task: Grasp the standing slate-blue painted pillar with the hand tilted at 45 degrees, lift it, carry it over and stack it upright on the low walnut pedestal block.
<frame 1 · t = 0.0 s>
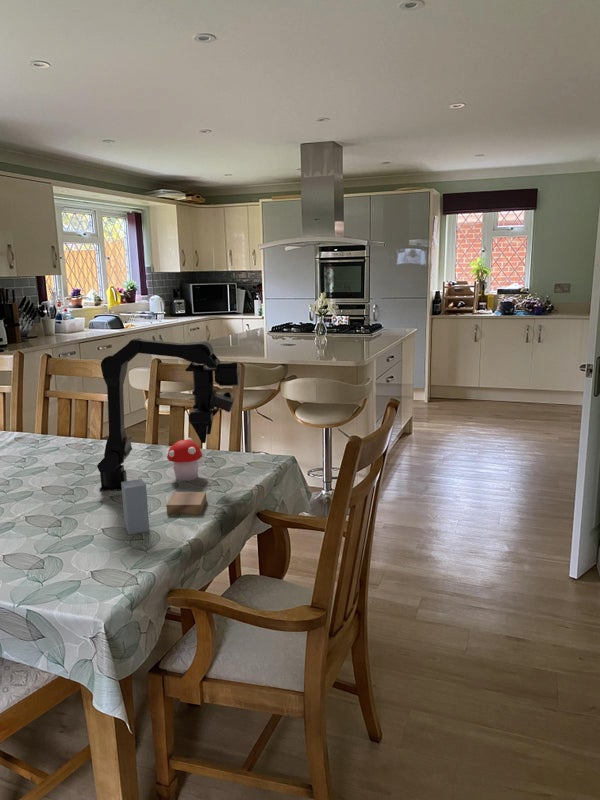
hand: (206, 438, 174), 15 cm above the table, tool pointing down, fingers open, 9 cm apart
pedestal: (187, 508, 162), on the table
mushroom: (185, 477, 185), on the table
pillar: (137, 528, 149), on the table
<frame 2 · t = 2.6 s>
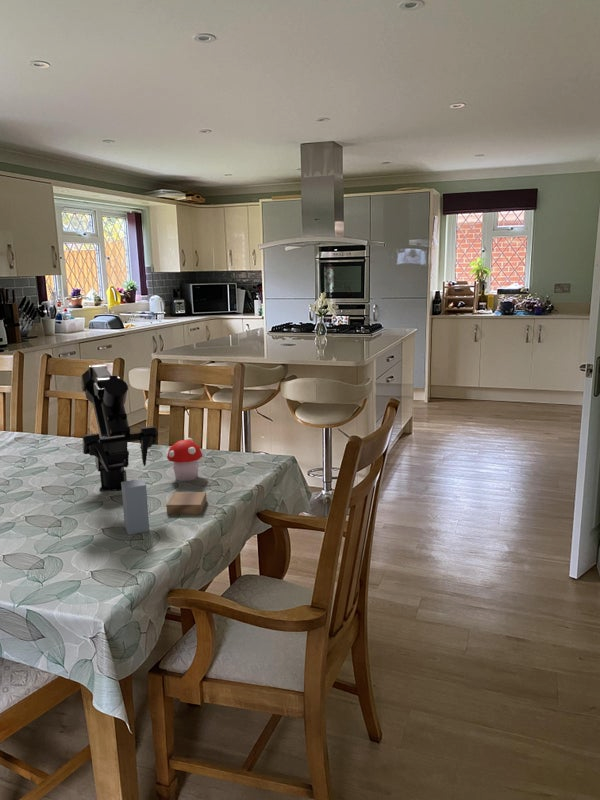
hand: (126, 468, 153), 13 cm above the table, tool tilted 45°, fingers open, 9 cm apart
nothing on the table moved.
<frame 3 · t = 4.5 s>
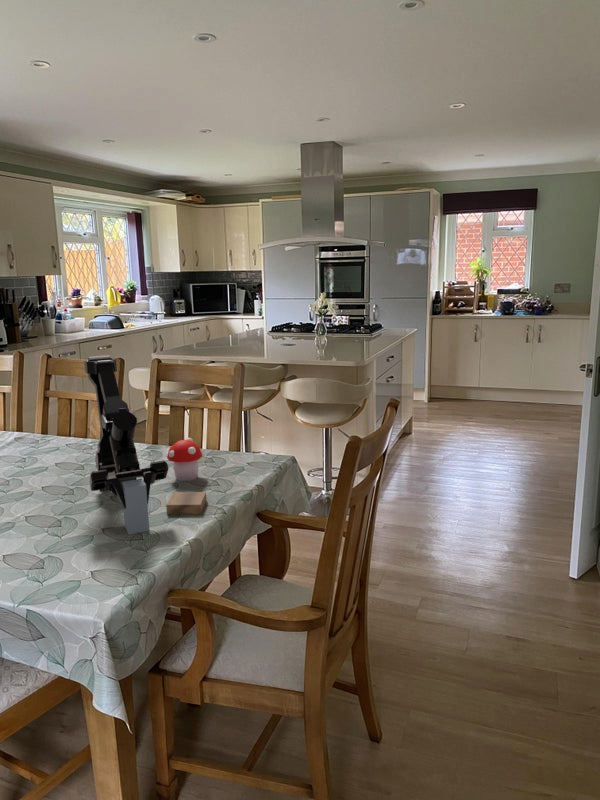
hand: (136, 505, 146), 7 cm above the table, tool tilted 45°, fingers closed on pillar, 5 cm apart
pillar: (137, 528, 149), on the table, touching gripper
everything else where it was.
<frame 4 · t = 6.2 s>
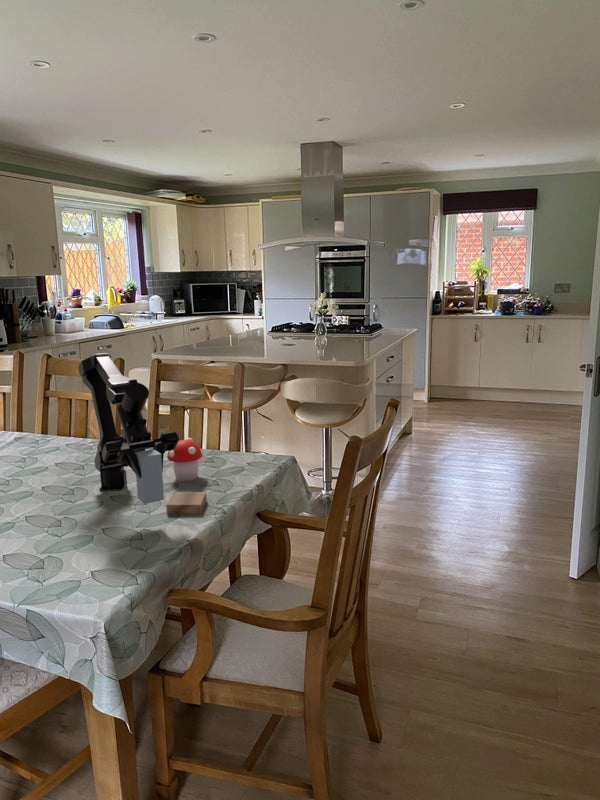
hand: (151, 475, 148), 13 cm above the table, tool tilted 45°, fingers closed on pillar, 5 cm apart
pillar: (150, 498, 150), point 7 cm above the table, touching gripper
everything else where it was.
when the fingers open (10 cm above the table, at t = 8.1 s): pillar drops 1 cm, resting on pedestal.
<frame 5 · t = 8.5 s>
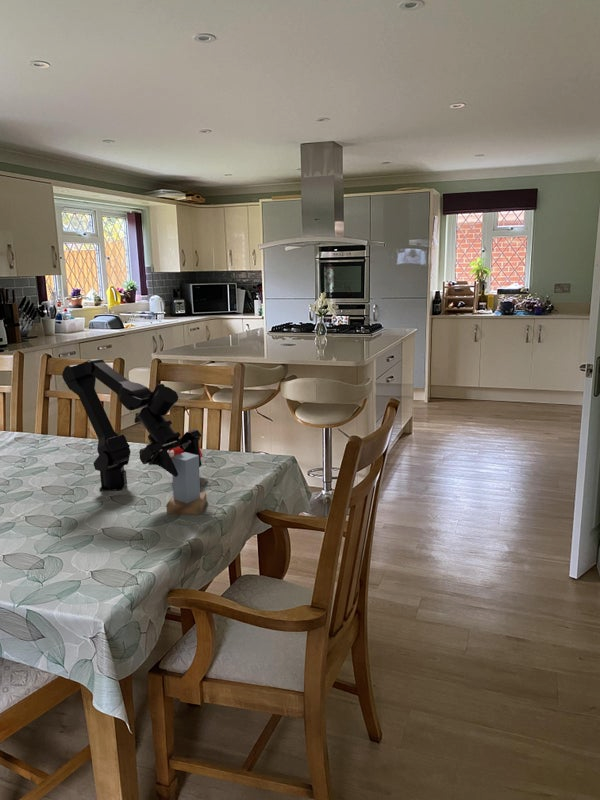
hand: (188, 471, 159), 11 cm above the table, tool tilted 45°, fingers open, 9 cm apart
pedestal: (187, 509, 162), on the table, touching pillar
pillar: (186, 498, 161), point 3 cm above the table, touching pedestal
everything else where it was.
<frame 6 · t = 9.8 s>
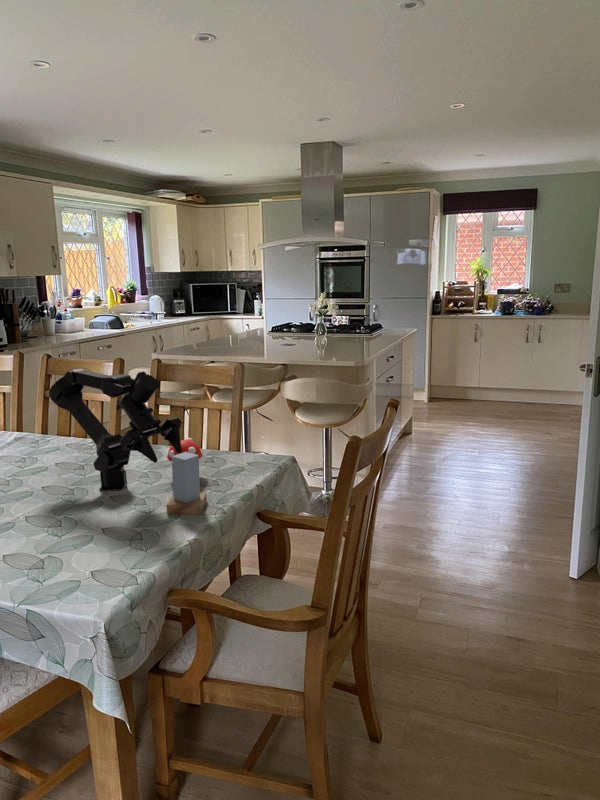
hand: (168, 457, 162), 13 cm above the table, tool tilted 45°, fingers open, 9 cm apart
pedestal: (187, 509, 162), on the table
pillar: (186, 498, 161), point 3 cm above the table
everything else where it was.
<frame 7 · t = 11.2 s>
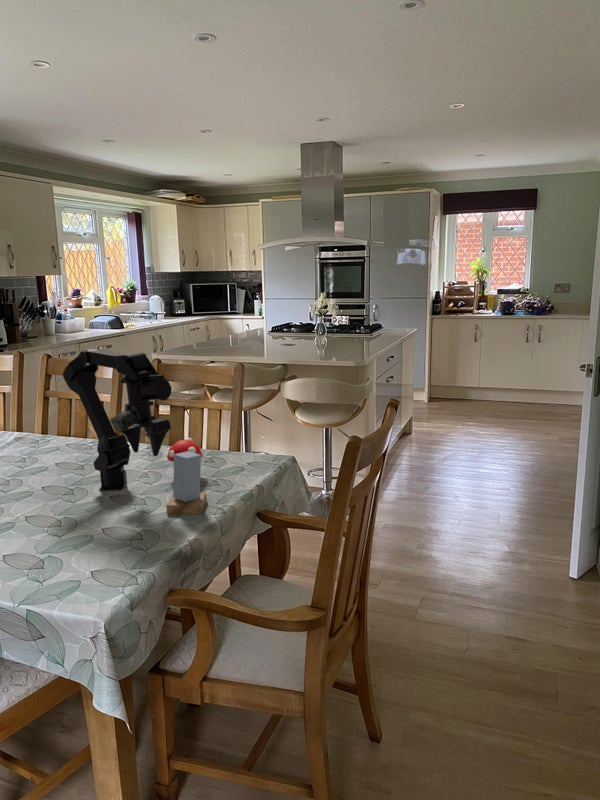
hand: (145, 454, 166), 13 cm above the table, tool pointing down, fingers open, 9 cm apart
pedestal: (187, 509, 162), on the table, touching pillar
pillar: (186, 497, 161), point 3 cm above the table, touching pedestal
everything else where it was.
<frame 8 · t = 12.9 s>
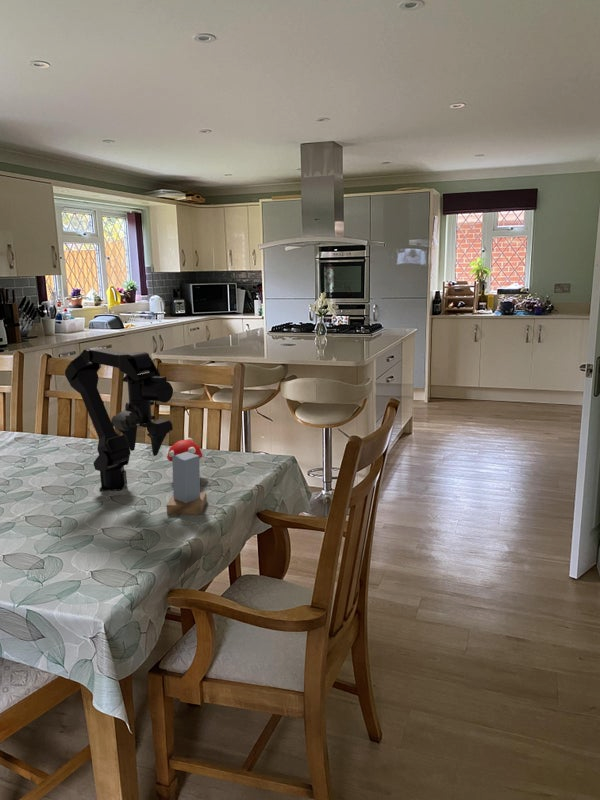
hand: (143, 453, 167), 13 cm above the table, tool pointing down, fingers open, 9 cm apart
nothing on the table moved.
at the end: pillar 0.2 cm off-centre on the pedestal, point 3.1 cm above the pedestal's base; pillar tilted 2°; the gripper is holding nothing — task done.
